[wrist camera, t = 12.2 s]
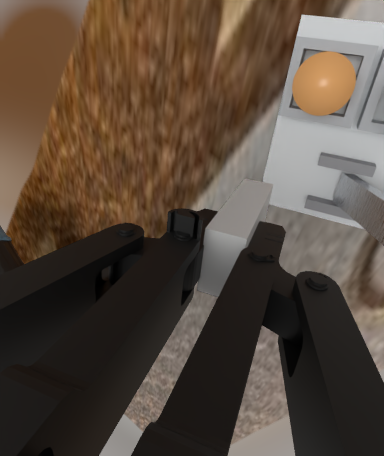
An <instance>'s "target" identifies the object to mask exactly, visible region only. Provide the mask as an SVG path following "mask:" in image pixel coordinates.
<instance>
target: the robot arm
mask: <svg viewBox="0 0 384 456" xmlns="http://www.w3.org/2000/svg"><path fill="white" fill-rule="evenodd" d="M272 189H273V184H270V183H265V182H260V181H255V180H251V179H246V178H245V179H244V180H243V181H242V182H241V184H240V185H239V186H238V187H237V189H236V190H235V191H234V193H233V194H232V195H231V196H230V198H229V199H228V200H227V201H226V203H225V204H224V205H223V206H222V208H221V209H220V210H219V212H217V211H213V210H209V209H203V210H200V211H194V210H190V209H174V210H171V211H169V212H168V221H167V232H166V233H165V234H164V235H163V236H162V237H161V238H146V237H144V230H143V228H141V227H140V226H138V225H134V224H132V223H124V224H117V225H114V226H111V227H109V228H107V229H104V230H102V231H100V232H98V233H95V234H93V235H91V236H88V237H86V238H84V239H81V240H79V241H77V242H75V243H72V244H70V245H68V246H65V247H63V248H61V249H59V250H56V251H54V252H52V253H49V254H47V255H45V256H42V257H40V258H38V259H36V260H33V261H31V262H29V263H26V264H24V263H23V262H22V260H21V258H20V257H19V255H18V253H17V251H16V250H15V248H14V246H13V244H12V243H11V241H12V240H11V238H10V237H8V236H7V235H6V233H5V232H4V231H3V229H2V228H1V226H0V456H99V454H100V453H101V451H102V449H103V447H104V446H105V444H106V443H107V441H108V439H109V437H110V436H111V434H112V432H113V431H114V429H115V427H116V426H117V424H118V422H119V421H120V419H121V417H122V415H123V414H124V412H125V411H126V409H127V407H128V406H129V404H130V402H131V400H132V399H133V397H134V395H135V394H136V392H137V390H138V389H139V387H140V385H141V384H142V382H143V380H144V379H145V377H146V375H147V374H148V372H149V370H150V369H151V367H152V365H153V363H154V362H155V360H156V358H157V357H158V355H159V353H160V352H161V350H162V348H163V347H164V345H165V343H166V342H167V340H168V338H169V337H170V335H171V333H172V331H173V330H174V328H175V326H176V325H177V323H178V321H179V320H180V318H181V316H182V315H183V313H184V311H185V310H186V308H187V306H188V305H189V303H190V301H191V300H192V298H193V293H194V286H195V284H196V283H197V281H198V287H197V291H200V292H203V293H207V294H210V295H213V296H216V297H218V299H217V301H216V303H215V305H214V307H213V309H212V311H211V313H210V315H209V317H208V319H207V321H206V323H205V325H204V327H203V329H202V331H201V333H200V335H199V337H198V339H197V341H196V343H195V346H194V348H193V350H192V352H191V354H190V356H189V358H188V360H187V362H186V364H185V366H184V368H183V370H182V372H181V374H180V376H179V378H178V380H177V382H176V384H175V386H174V388H173V390H172V392H171V394H170V396H169V398H168V401H167V403H166V405H165V407H164V409H163V411H162V413H161V415H160V416H159V418H158V420H157V421H156V422H151V423H150V424H149V425H148V426H147V427H146V429H145V431H144V432H143V434H142V436H141V437H140V439H139V441H138V443H137V445H136V447H135V449H134V451H133V453H132V455H131V456H227V455H228V452H229V448H230V444H231V440H232V436H233V433H234V429H235V425H236V421H237V417H238V414H239V410H240V406H241V402H242V398H243V394H244V391H245V387H246V383H247V379H248V375H249V372H250V368H251V364H252V360H253V356H254V353H255V349H256V345H257V341H258V337H259V334H260V330H261V326H262V325H263V326H264V327H266V328H268V329H269V330H271V331H273V332H274V333H276V334H278V335H279V337H278V345H279V352H280V358H281V365H282V371H283V378H284V384H285V391H286V397H287V404H288V410H289V417H290V423H291V429H292V436H293V443H294V450H295V456H384V382H383V380H382V378H381V376H380V374H379V372H378V369H377V367H376V365H375V363H374V361H373V359H372V357H371V354H370V352H369V350H368V348H367V346H366V344H365V341H364V339H363V337H362V335H361V333H360V331H359V329H358V326H357V324H356V322H355V320H354V318H353V316H352V314H351V311H350V309H349V307H348V305H347V303H346V301H345V299H344V296H343V294H342V292H341V290H340V288H339V286H338V285H337V283H336V282H335V281H334V280H332V279H331V278H330V277H328V276H326V275H323V274H322V273H317V272H312V271H305V272H301V273H299V274H298V275H297V276H296V277H295V276H293V275H291V274H289V273H287V272H286V271H285V270H284V269H282V267H281V266H280V264H279V257H280V253H281V249H282V245H283V241H284V237H285V233H286V232H285V230H284V228H283V227H282V226H279V225H275V224H271V223H267V222H265V220H266V215H267V211H268V207H269V202H270V198H271V193H272Z"/></svg>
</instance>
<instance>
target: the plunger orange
mask: <svg viewBox="0 0 384 456" xmlns="http://www.w3.org/2000/svg"><path fill="white" fill-rule="evenodd" d="M355 84H356V74H355V70H354V67H353V65H352V63H351V62H350V61H349V60H348V58H346V57H345V56H344V55H342V54H340V53H337V52H332V51H326V52H320V53H317V54H315V55H313V56H311V57H309V58H308V59H307V60H305V61H304V62H303V63H302V64H301V66H300V67H299V68H298V70H297V72H296V74H295V76H294V79H293V84H292V92H293V97H294V100H295V102H296V104H297V105H298V106H299V107H300V108H301V109H302V110H303V111H304V112H306V113H308V114H311V115H315V116H324V115H328V114H331V113H334V112H336V111H338V110H339V109H340V108H342V107H343V106H344V105H345V104H346V103H347V102H348V100H349V99H350V97H351V96H352V94H353V91H354V88H355Z"/></svg>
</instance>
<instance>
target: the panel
mask: <svg viewBox="0 0 384 456" xmlns="http://www.w3.org/2000/svg"><path fill="white" fill-rule="evenodd" d="M326 51H332V52H337V53H340V54H342V55H344V56H345V57H346V58H348V60H349V61H350V62H351V63H352V65H353V67H354V70H355V74H356V84H355V88H354V91H353V94H352V96H351V97H350V99H349V100H348V102H347V103H346V104H345V105H344V106H343V107H342V108H340V109H339V110H338V111H336V112H334V113H331V114H328V115H324V116H315V115H311V114H308V113H306V112H304V111H303V110H302V109H301V108H300V107H299V106H298V105H297V104H296V102H295V100H294V97H293V92H292V84H293V79H294V76H295V74H296V72H297V70H298V68H299V67H300V66H301V64H302V63H303V62H304V61H305V60H307V59H308V58H309V57H311V56H313V55H315V54H317V53H320V52H326ZM343 173H346V174H355V175H356V176H358V177H359V178H361V179H362V180H364V181H365V182H367V183H369V184H370V185H372V186H373V187H375V188H376V189H378V190H380V191H381V192H383V193H384V23H380V22H370V21H360V20H350V19H340V18H330V17H320V16H310V15H302V16H301V20H300V25H299V29H298V33H297V37H296V42H295V46H294V50H293V54H292V58H291V63H290V67H289V71H288V75H287V79H286V84H285V88H284V92H283V96H282V101H281V105H280V109H279V113H278V117H277V122H276V126H275V130H274V134H273V138H272V143H271V147H270V151H269V155H268V160H267V164H266V168H265V172H264V176H263V181H262V182H265V183H270V184H273V189H272V193H271V198H270V202H269V205H273V206H277V207H281V208H285V209H288V210H292V211H296V212H300V213H304V214H308V215H311V216H315V217H319V218H323V219H327V220H331V221H334V222H338V223H342V224H346V225H350V226H354V227H357V228H361V229H364V228H363V227H362V226H361V225H359V224H358V223H357V222H356V221H355V220H354V219H352V218H351V217H350V216H349V215H348V214H347V213H345V212H344V211H343V210H342V209H341V208H340V207H338V206H337V205H336V204H335V203H334V202H333V199H334V196H335V193H336V191H337V188H338V185H339V182H340V179H341V177H342V174H343Z"/></svg>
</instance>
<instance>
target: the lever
mask: <svg viewBox="0 0 384 456" xmlns="http://www.w3.org/2000/svg"><path fill="white" fill-rule="evenodd" d="M333 202H334V203H335V204H336V205H337V206H338V207H340V208H341V209H342V210H343V211H344V212H345V213H347V214H348V215H349V216H350V217H351V218H352V219H354V220H355V221H356V222H357V223H358V224H359V225H361V226H362V227H363V228H364V229H365V230H366V231H368V232H369V233H370V234H371V235H372V236H373V237H374V238H376V239H377V240H378V241H379V242H380V243H381V244H383V245H384V193H383V192H381V191H380V190H378V189H376V188H375V187H373V186H372V185H370V184H369V183H367V182H365V181H364V180H362V179H361V178H359V177H358V176H356V175H355V174H346V173H343V174H342V177H341V179H340V182H339V185H338V188H337V191H336V193H335V196H334V199H333Z"/></svg>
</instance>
